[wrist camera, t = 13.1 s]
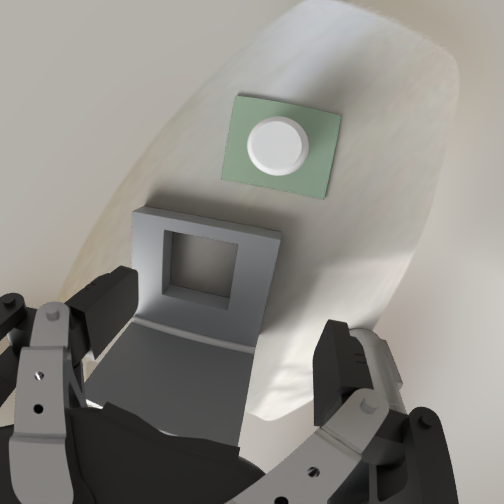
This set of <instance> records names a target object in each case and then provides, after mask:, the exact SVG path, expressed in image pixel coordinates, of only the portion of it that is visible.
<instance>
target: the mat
mask: <svg viewBox="0 0 504 504" xmlns="http://www.w3.org/2000/svg"><path fill="white" fill-rule="evenodd" d="M274 116H281V117H286V118H289V119H292V120H294V121H295V122H297V123H298V124H299V125H300V126H301V127H302V128H303V130H304V131H305V133H306V135H307V138H308V142H309V151H308V155H307V158H306V160H305V162H304V163H303V164H302V166H301V167H300V168H299V169H297V170H296V171H294V172H292V173H290V174H287V175H281V176H275V175H270V174H267V173H265V172H263V171H261V170H260V169H258V168H257V167H256V166H255V165H254V164H253V162H252V161H251V159H250V157H249V154H248V149H247V142H248V137H249V134H250V132H251V130H252V129H253V128H254V126H255V125H256V124H257V123H259V122H260V121H262V120H264V119H266V118H269V117H274ZM340 120H341V116H340V115H336V114H333V113H329V112H325V111H320V110H316V109H312V108H307V107H303V106H298V105H293V104H288V103H282V102H277V101H271V100H264V99H258V98H250V97H243V96H235V99H234V105H233V110H232V116H231V121H230V127H229V133H228V139H227V145H226V151H225V157H224V163H223V169H222V176H221V179H222V180H228V181H234V182H240V183H246V184H251V185H257V186H262V187H267V188H272V189H277V190H282V191H287V192H292V193H296V194H301V195H306V196H310V197H314V198H319V199H323V200H324V197H325V193H326V189H327V184H328V180H329V175H330V171H331V166H332V161H333V156H334V151H335V146H336V141H337V136H338V131H339V125H340Z"/></svg>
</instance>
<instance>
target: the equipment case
mask: <svg viewBox="0 0 504 504" xmlns="http://www.w3.org/2000/svg"><path fill="white" fill-rule="evenodd" d="M173 232H178V233H183V234H188V235H193V236H198V237H203V238H208V239H213V240H218V241H223V242H228V243H233V244H238V249H237V255H236V262H235V268H234V274H233V280H232V287H231V293H230V298H227V297H222V296H218V295H213V294H209V293H205V292H201V291H196V290H192V289H188V288H184V287H180V286H176V285H172V284H170V271H171V251H172V235H173ZM280 241H281V232H278V231H273V230H269V229H264V228H259V227H254V226H249V225H244V224H238V223H233V222H228V221H223V220H218V219H212V218H207V217H202V216H196V215H191V214H185V213H180V212H174V211H169V210H163V209H157V208H151V207H146V206H143V207H141V208H139V209H137V210H134V211H132V269H135V270H137V272H138V284H139V304H138V308H137V311H136V313H135V314H134V316H133V317H132V322H131V323H130V325H129V326H128V327H127V328H126V330H125V331H124V332H123V333H122V335H121V336H120V337H119V338H118V340H117V341H116V342H115V343H114V345H113V346H112V347H111V349H110V350H109V351H108V353H107V354H106V355H105V356H104V358H103V359H102V360H101V362H100V363H99V364H98V366H97V367H96V368H95V370H94V371H93V372H92V374H91V375H90V377H89V378H88V379H87V380H86V382H85V383H84V387H85V397H86V402H87V404H89V405H91V406H94V407H96V408H101V409H102V408H103V407H104V405H105V404H106V402H109V403H111V404H114V405H116V406H118V407H120V408H122V409H124V410H127V411H129V412H131V413H133V414H136V415H137V416H139V417H140V418H142V419H143V420H144V421H146V422H147V423H149V424H150V425H152V426H153V427H155V428H156V429H158V430H159V431H161V432H163V433H164V434H167V435H172V436H181V437H190V438H202V439H208V440H212V441H215V442H219V443H223V444H227V445H232V446H236V447H238V442H239V436H240V431H241V426H242V421H243V415H244V410H245V404H246V399H247V393H248V388H249V382H250V376H251V371H252V365H253V359H254V354H255V349H256V344H257V340H258V336H259V332H260V328H261V324H262V320H263V315H264V311H265V307H266V303H267V298H268V294H269V290H270V286H271V281H272V277H273V273H274V268H275V264H276V259H277V255H278V250H279V246H280Z"/></svg>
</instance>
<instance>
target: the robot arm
mask: <svg viewBox="0 0 504 504" xmlns="http://www.w3.org/2000/svg"><path fill="white" fill-rule="evenodd" d="M138 304H139V284H138V272H137V270H135V269H131V268H128V267H125V266H119V267H118V268H116V269H115V270H114V271H112V272H111V273H107V274H104V275H102V276H99V277H97V278H96V279H94V280H93V281H92V282H91V283H90V284H88V285H87V286H85V288H83V289H82V290H80V291H79V292H78V293H76V294H75V295H74V296H73V297H71V298H70V299H69V300H68V301H66V302H65V303H61V302H49V303H46V304H44V305H42V306H41V307H40V308H39V309H33V308H29V307H26V305H25V302H24V298H23V296H22V295H20V294H17V293H9V294H5V295H3V296H2V297H0V341H1V339H3V338H4V337H5V336H7V339H8V342H9V344H10V346H9V347H8V348H7V349H6V350H5V351H4V352H3V353H2V354H1V355H0V407H1V406H2V404H3V403H4V402H5V400H6V399H7V398H8V396H9V395H10V394H11V393H12V391H13V390H14V389H15V388H16V395H15V396H16V397H15V415H14V424H13V425H8V426H4V427H0V504H324V503H325V502H326V501H327V504H459V503H458V496H457V490H456V484H455V479H454V474H453V469H452V464H451V460H450V455H449V451H448V447H447V443H446V439H445V436H444V432H443V428H442V425H441V421H440V419H439V417H438V416H437V414H436V413H435V412H434V411H432V410H431V409H429V408H426V407H417V408H415V409H413V410H412V411H411V412H410V414H409V415H407V413H406V410H405V407H404V404H403V401H402V397H401V395H400V392H399V389H401V387H402V385H403V382H402V380H401V377H400V374H399V372H398V369H397V366H396V364H395V361H394V359H393V356H392V354H391V352H390V349H389V347H388V344H387V342H386V340H382V339H380V338H379V337H378V335H377V334H375V333H374V332H373V331H370V330H367V329H353V330H349V328H348V324H347V323H346V322H340V321H335V320H330V319H329V320H328V321H327V323H326V325H325V327H324V330H323V332H322V334H321V337H320V339H319V341H318V344H317V346H316V348H315V351H314V355H313V389H314V426H320V428H318V429H317V430H316V431H315V432H314V433H313V434H312V435H311V436H310V437H309V438H308V439H307V440H306V441H304V443H302V444H301V445H300V446H299V447H298V448H297V449H296V450H295V451H293V452H292V453H291V454H290V455H289V456H288V457H287V458H285V459H284V461H282V462H281V463H280V464H278V465H277V466H276V467H275V468H274V469H272V470H271V471H270V472H269V473H267V474H265V473H264V472H263V471H262V470H261V469H260V468H259V467H257V466H256V465H254V464H253V463H251V462H250V461H248V460H246V459H244V458H242V457H240V456H239V451H240V447H236V446H232V445H227V444H223V443H219V442H215V441H212V440H208V439H202V438H190V437H181V436H172V435H167V434H164V433H163V432H161V431H159V430H158V429H156V428H155V427H153V426H152V425H150V424H149V423H147V422H146V421H144V420H143V419H142V418H140V417H139V416H137V415H136V414H133V413H131V412H129V411H127V410H124V409H122V408H120V407H118V406H116V405H114V404H111V403H109V402H106V404H105V405H104V407H103V408H102V409H101V408H94V407H88V406H87V402H86V397H85V387H84V376H83V364H82V359H83V357H84V356H86V357H88V358H90V359H92V360H94V361H95V360H96V359H97V357H98V356H99V355H100V354H101V353H102V351H103V350H104V349H105V348H106V347H107V346H108V344H109V343H110V342H111V341H112V340H113V338H114V337H115V336H116V335H117V334H118V333H119V331H120V330H121V329H122V328H123V327H124V326H125V325H126V323H127V322H128V321H129V320H130V319H131V318H132V317H133V315H134V314H135V313H136V311H137V308H138Z"/></svg>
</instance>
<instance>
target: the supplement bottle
mask: <svg viewBox="0 0 504 504" xmlns="http://www.w3.org/2000/svg"><path fill="white" fill-rule="evenodd" d="M247 149H248V154H249V157H250V159H251V161H252V162H253V164H254V165H255V166H256V167H257V168H258V169H260V170H261V171H263V172H265V173H267V174H270V175H275V176H281V175H287V174H290V173H292V172H294V171H296V170H297V169H299V168H300V167H301V166H302V164H303V163H304V162H305V160H306V158H307V155H308V151H309V142H308V138H307V135H306V133H305V131H304V130H303V128H302V127H301V126H300V125H299V124H298V123H297V122H295V121H294V120H292V119H289V118H286V117H281V116H274V117H269V118H266V119H264V120H262V121H260V122H259V123H257V124H256V125H255V126H254V128H253V129H252V130H251V132H250V134H249V137H248V142H247Z"/></svg>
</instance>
